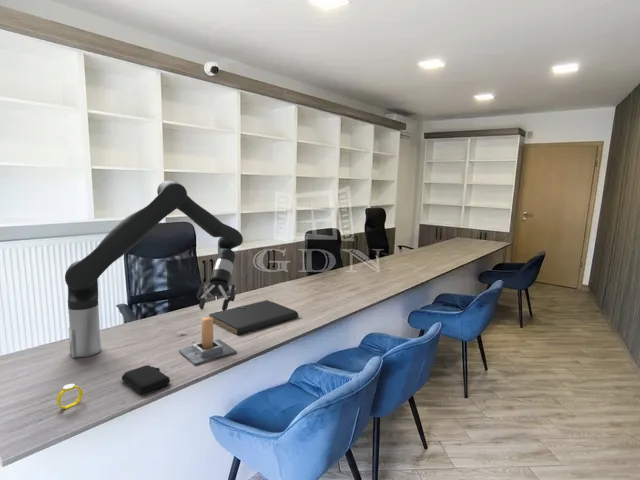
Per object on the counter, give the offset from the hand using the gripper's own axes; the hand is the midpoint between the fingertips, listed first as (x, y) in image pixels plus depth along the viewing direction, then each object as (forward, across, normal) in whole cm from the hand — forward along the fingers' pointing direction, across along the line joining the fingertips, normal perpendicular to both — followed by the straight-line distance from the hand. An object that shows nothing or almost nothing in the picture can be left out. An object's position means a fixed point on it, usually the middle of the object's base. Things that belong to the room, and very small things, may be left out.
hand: (212, 309), depth 143 cm
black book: (-12, +8, +33) cm, 36 cm away
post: (+13, 0, +6) cm, 15 cm away
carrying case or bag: (+31, -11, -9) cm, 34 cm away
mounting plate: (+14, 0, +7) cm, 16 cm away
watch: (+41, -25, -20) cm, 52 cm away
